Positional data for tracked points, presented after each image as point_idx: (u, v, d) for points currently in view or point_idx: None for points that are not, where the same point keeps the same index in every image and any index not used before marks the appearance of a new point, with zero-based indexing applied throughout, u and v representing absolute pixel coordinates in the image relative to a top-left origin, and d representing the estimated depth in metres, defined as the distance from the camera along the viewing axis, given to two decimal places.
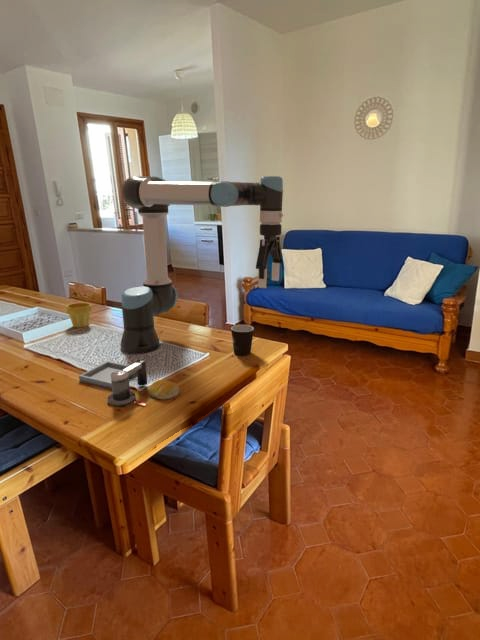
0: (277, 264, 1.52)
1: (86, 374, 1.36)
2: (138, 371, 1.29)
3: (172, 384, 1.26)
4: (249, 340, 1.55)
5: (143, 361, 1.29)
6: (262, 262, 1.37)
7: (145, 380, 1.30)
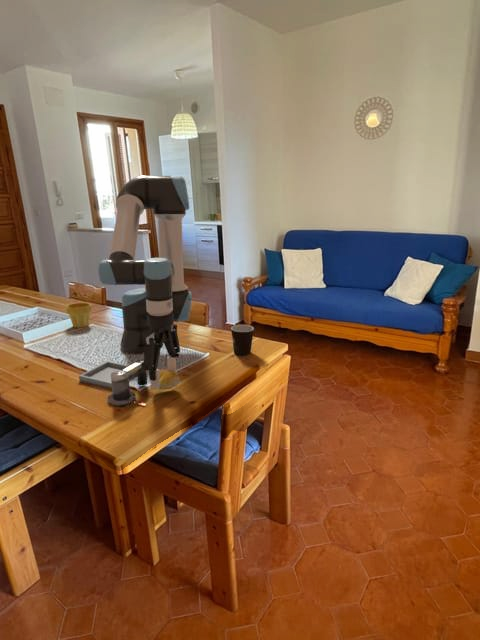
0: (172, 359, 1.28)
1: (86, 374, 1.36)
2: (138, 371, 1.29)
3: (173, 374, 1.25)
4: (249, 340, 1.55)
5: (143, 361, 1.29)
6: (149, 365, 1.17)
7: (145, 380, 1.30)
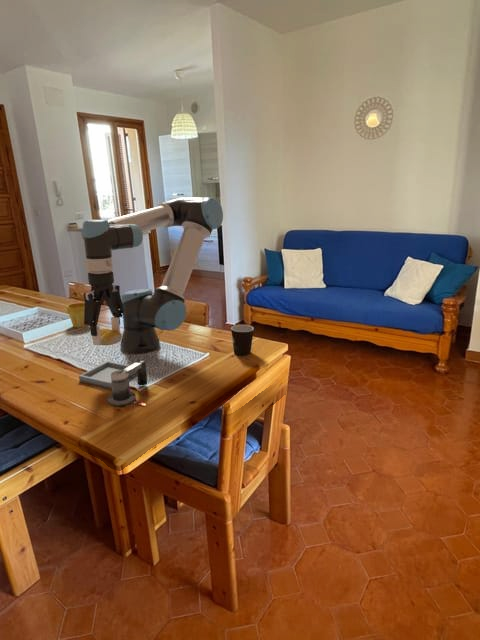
0: (116, 319, 1.36)
1: (86, 374, 1.36)
2: (138, 371, 1.29)
3: (114, 331, 1.33)
4: (249, 340, 1.55)
5: (143, 361, 1.29)
6: (89, 320, 1.25)
7: (145, 380, 1.30)
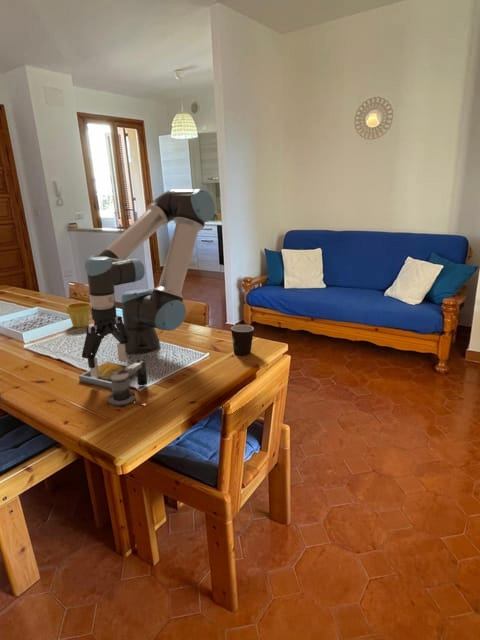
0: (122, 345, 1.41)
1: (86, 374, 1.36)
2: (138, 371, 1.29)
3: (117, 366, 1.36)
4: (249, 340, 1.55)
5: (143, 361, 1.29)
6: (87, 352, 1.26)
7: (145, 380, 1.30)
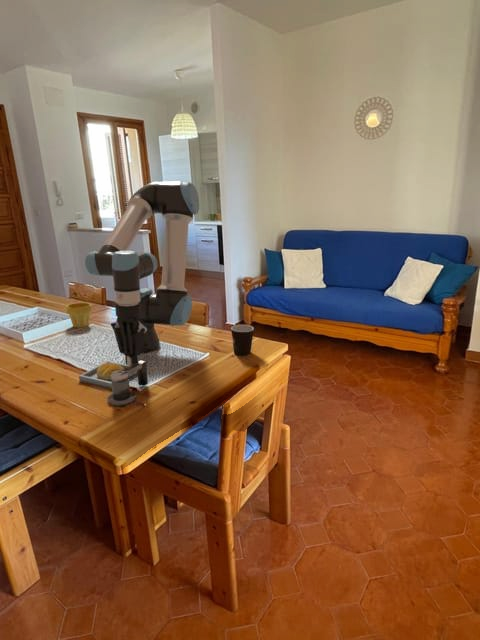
0: None
1: (86, 374, 1.36)
2: (139, 371, 1.29)
3: (117, 366, 1.36)
4: (249, 340, 1.55)
5: (144, 361, 1.29)
6: None
7: (146, 380, 1.30)
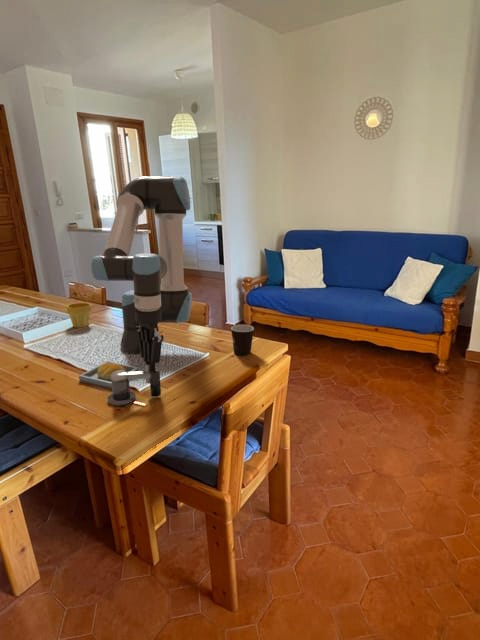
0: None
1: (86, 374, 1.36)
2: (150, 380, 1.23)
3: (118, 366, 1.36)
4: (249, 340, 1.55)
5: (155, 372, 1.21)
6: None
7: (154, 392, 1.23)
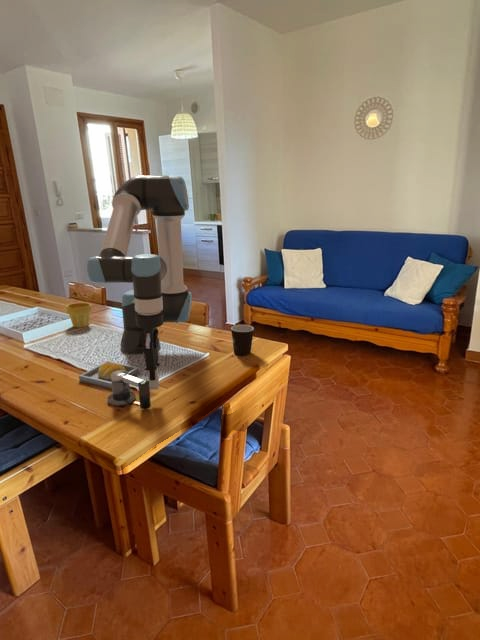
0: None
1: (86, 374, 1.36)
2: None
3: (118, 366, 1.36)
4: (249, 340, 1.55)
5: (142, 383, 1.14)
6: None
7: (140, 403, 1.16)
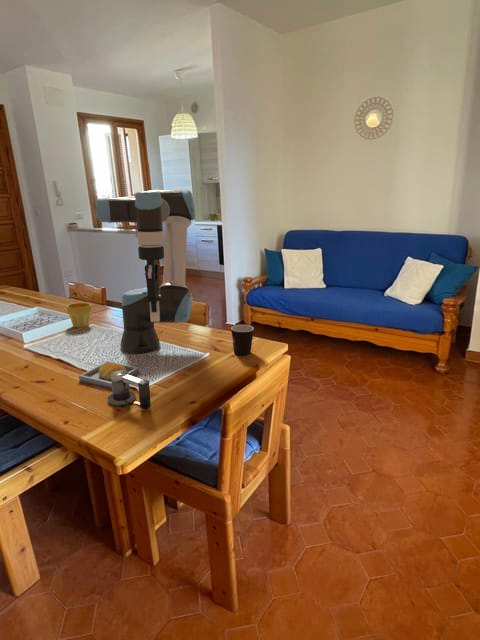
0: None
1: (86, 374, 1.36)
2: None
3: (119, 366, 1.36)
4: (249, 340, 1.55)
5: (142, 383, 1.14)
6: None
7: (140, 403, 1.16)
